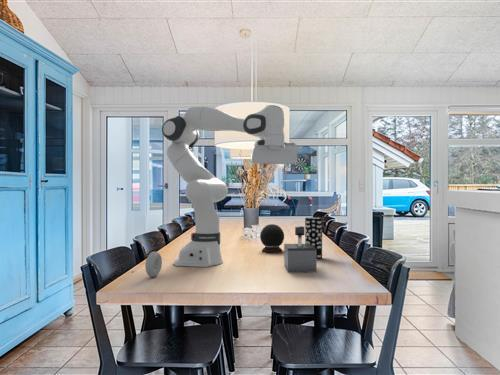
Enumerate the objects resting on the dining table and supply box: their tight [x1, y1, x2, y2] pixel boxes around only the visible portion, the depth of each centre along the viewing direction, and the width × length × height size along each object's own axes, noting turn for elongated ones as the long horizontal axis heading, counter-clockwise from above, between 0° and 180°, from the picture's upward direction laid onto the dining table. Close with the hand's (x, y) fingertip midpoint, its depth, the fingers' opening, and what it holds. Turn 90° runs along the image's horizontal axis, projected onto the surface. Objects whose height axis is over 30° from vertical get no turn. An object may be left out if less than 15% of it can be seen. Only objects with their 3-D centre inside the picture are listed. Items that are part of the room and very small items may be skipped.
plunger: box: [294, 225, 305, 247], centre depth 160 cm, size 8×8×17 cm
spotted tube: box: [304, 216, 323, 261], centre depth 184 cm, size 8×8×20 cm
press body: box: [283, 243, 318, 273], centre depth 160 cm, size 12×12×10 cm
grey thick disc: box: [144, 251, 163, 278], centre depth 146 cm, size 10×4×10 cm, turn 168°
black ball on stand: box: [259, 223, 285, 254], centre depth 203 cm, size 13×13×15 cm
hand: (274, 174), depth 161 cm, fingers open, 8 cm apart
